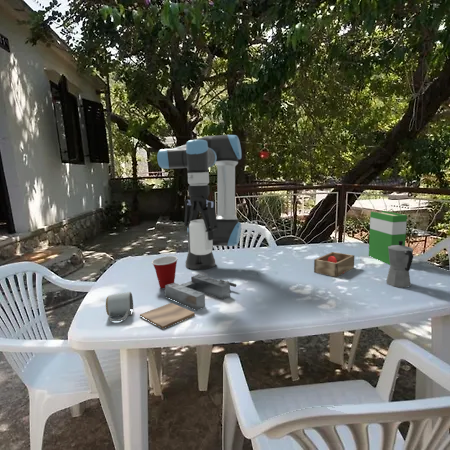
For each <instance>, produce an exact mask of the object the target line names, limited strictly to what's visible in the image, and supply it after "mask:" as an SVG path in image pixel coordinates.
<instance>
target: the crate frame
mask: <svg viewBox="0 0 450 450" xmlns="http://www.w3.org/2000/svg"><path fill="white" fill-rule="evenodd" d="M330 256H334V257H335V258H336V260H337V263H333V262H328V258H329V257H330ZM313 261H314V262H313V265H314V266H313V272H314V273H317V274H321V275H326V276H331V277H335V278H338V277H339V276H342V275H344V274H345V273H346V272H348V271H350V270H353V269H354V268H355V255H354V254H350V253H349V254H348V253H342V252H335V251H331V252H328V253H325V255H321V256H319V257H317V258H315V259H314V260H313ZM343 272H344V274H343Z"/></svg>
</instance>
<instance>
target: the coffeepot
mask: <svg viewBox="0 0 450 450" xmlns="http://www.w3.org/2000/svg"><path fill="white" fill-rule="evenodd" d="M402 244H403V241H399V245H391V246H388V251H389V261H390V265H389V269H388V273H387V276H386V284H387V285H388V286H391V287H394V288H402V287H404V288H409V287H411V276H410V269H411V266H412V263H413V259H414V254H413V253H414V249H413V247H411V246H408V245H405V246H403V245H402ZM408 286H409V287H408Z"/></svg>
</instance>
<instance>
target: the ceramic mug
mask: <svg viewBox="0 0 450 450" xmlns="http://www.w3.org/2000/svg"><path fill="white" fill-rule="evenodd" d="M130 309H133V310H134V299H133V294H132V292H131V291H127V292H122V293H114V294H110V295H107V297H106V299H105V311H106V314H107V316H108V318H109V321H110V320H111V321H121V320H124V319H125V320H127V318H128V316H132V315H131V311H130ZM118 315H124V316H121V318H118V319H113V318H112V317H119V316H118ZM125 320H124V321H125ZM111 321H110V322H111Z"/></svg>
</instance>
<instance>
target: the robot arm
mask: <svg viewBox="0 0 450 450" xmlns="http://www.w3.org/2000/svg"><path fill="white" fill-rule="evenodd" d="M240 141H241V140H240V139H239V136H238V135H236V134H221V135H220V134H219V135H205V136H202V137H197V138H195V139H190V140H188V141H186V143H185V144H183V145H181V146H176V147H173V148H164V149H163V148H161V149H159V150H158V152H157V156H156V157H157V159H156V160H157V164H158V166H159V167H160V168H161V169H167V170H171V169H187V171H186V173H187V183H188V184H189V185H188V187H187V188H188V189H187V190H188V196H189V197H190V199H185V200H184V207H185V209H184V210H185V211H184V226H185V227H187V228H186V229H187V231H186V233H187V249H188V250H187V255H186V260H185V261H184V262H185V267H186V268H187V269H189V268H190V269H189V270H197V269H199V270H206V269H211V268H214V267H215V266H216V259H215V257H214V254H213V251H212V252H211V253H209V254H206V255H195V254H193V253H191V252H190V233H189V224H190V221H192V220H197V218H198V216H199V215H198V214H199V213H200V214H201V216H202V219H203V220H204V223H205V226H206V229H207V230H206V231H205V238H206V249H211V248H212V249H213V248H214V247H235V246H237V245H239V242H240V239H241V234H242V223H241V222H240V221H239V218H238V217H237V215H236V166H237V165H238V164H239V160H241V159H242V147H241V142H240ZM214 165H216V167H217V214H216V209H215V207H216V203H215V201H212V200H211V201H210V200H209V196H210V185H209V183H210V175H209V174H210V173H209V168H211V167H213V166H214ZM209 227H210V228H209Z"/></svg>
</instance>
